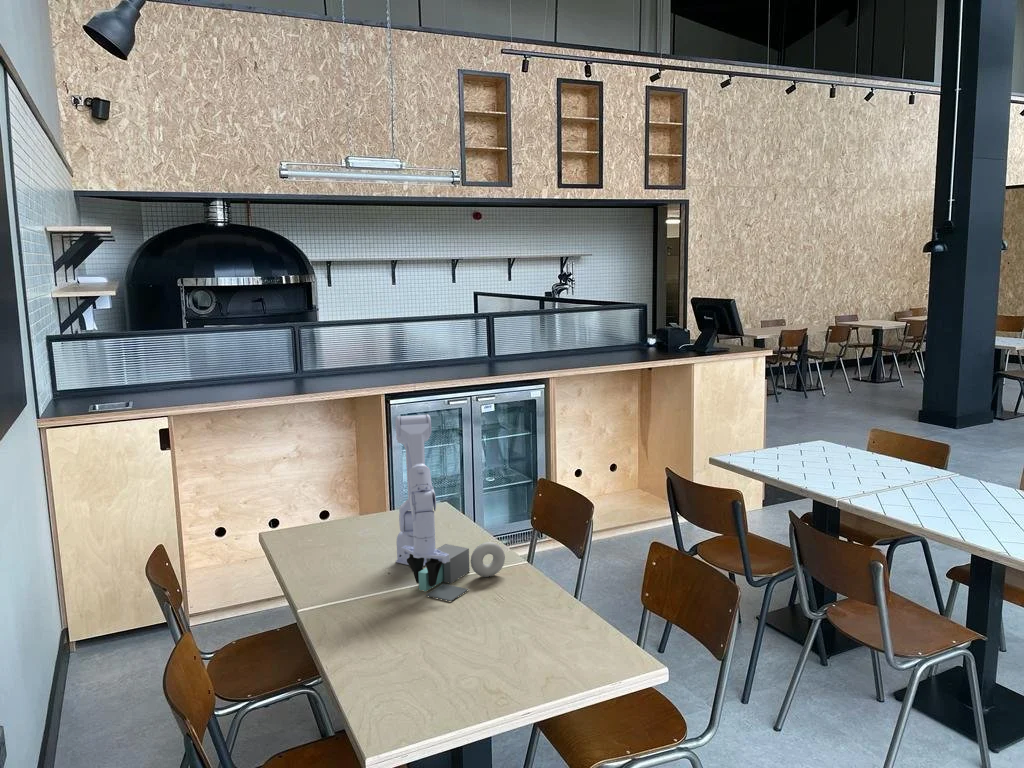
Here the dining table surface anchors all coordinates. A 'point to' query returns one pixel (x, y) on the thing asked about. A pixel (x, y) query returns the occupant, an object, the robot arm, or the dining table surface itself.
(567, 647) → the dining table surface
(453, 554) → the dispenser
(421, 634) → the dining table surface
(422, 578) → the tall teal prism
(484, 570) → the donut
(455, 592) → the coaster
